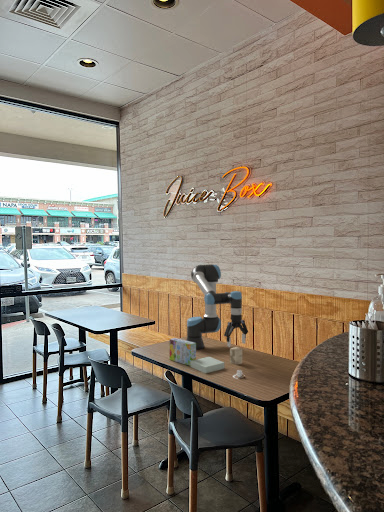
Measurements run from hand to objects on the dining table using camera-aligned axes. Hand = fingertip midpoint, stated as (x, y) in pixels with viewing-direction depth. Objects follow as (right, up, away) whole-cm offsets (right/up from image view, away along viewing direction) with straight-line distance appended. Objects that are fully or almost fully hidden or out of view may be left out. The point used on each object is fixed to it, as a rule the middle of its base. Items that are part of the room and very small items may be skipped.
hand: (236, 344), depth 270 cm
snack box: (-37, -13, +3) cm, 39 cm away
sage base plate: (-20, -13, -9) cm, 26 cm away
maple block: (0, -13, +1) cm, 13 cm away
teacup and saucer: (+2, -14, -25) cm, 29 cm away
